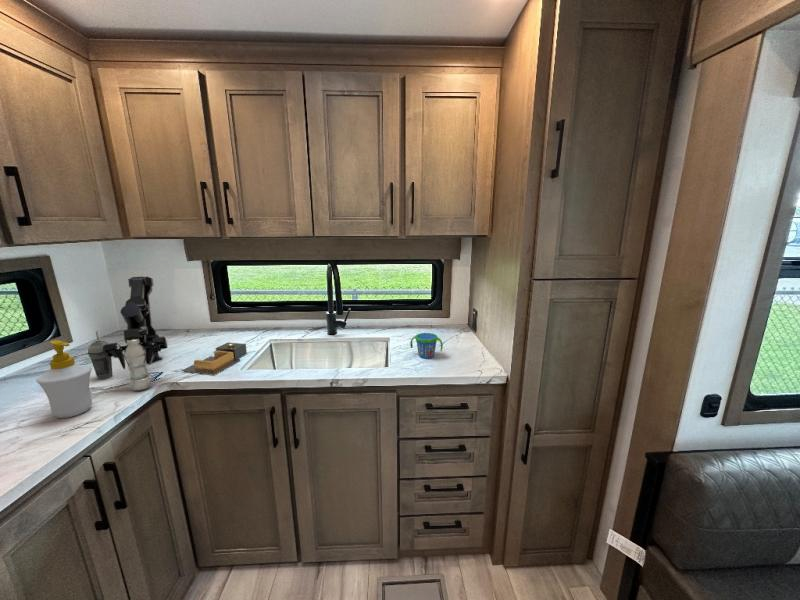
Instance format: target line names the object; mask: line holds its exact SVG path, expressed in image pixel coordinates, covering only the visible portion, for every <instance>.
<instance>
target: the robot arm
mask: <svg viewBox="0 0 800 600" xmlns="http://www.w3.org/2000/svg"><path fill="white" fill-rule="evenodd" d="M128 287H129V288H130V295H129V298H128V299H127V300H126V301H125V304H124V306H123V307H121V309H120V314H121V316H122V319H123V320H124V323H125V324H126V329H124V330H123V340H124V342H125V343H126V344H123V345H122V344H121V345H119V344H118V343H117V342H111V343H109V344H105V345H104V346H103V350H102V351H103V352H104V354H105V355H106V357H111V358H115V359H118V360H119V362H120V364H121V367H122V369H123V370H126V359H125V357H124V353H123V352H124V351H125V350H126V348H127V347H128V345H127V341H126V340H127V339H129V338H136V337H138V338H139V341H140V343H139V344H140V345H141V346H143V347H144V348H145V350H146V364H148V366H150V365H151V364H152V363H153V362H157V361H161V360H162V359H163V357H161V356H160V355H159V352H161V351H162V350H165V349H168V341H167V338H166V337H165V336H163V335H162V336H160V334H159V333H158V332H157V330H156V329H155V328H154V327H153V323H152V313H151V304H150V303H151V302H150V295H151V294H152V292H153V287H154V280H153V278H152V277H150V276H143V275H142V276H132V277H130V278H128Z"/></svg>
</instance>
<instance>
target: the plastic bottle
mask: <svg viewBox="0 0 800 600" xmlns="http://www.w3.org/2000/svg"><path fill="white" fill-rule="evenodd" d="M126 341H127V343H126V345H128V347H127V348H126V350H124V351H123V352H124V353H123V354H124V357H125V363H126V364H127V368H128V372H129V374H128V375H129V380H128V381H129V388H130V389H131V390H132V391H135V392H136V391H137V392H139V391H144V390H147V389H149V388H150V387H151V385H152V377H151V376H150V373H149V371H148V367H147V363H146V350H145V348H144V347H143V346H141V345H140V344H139V343H140V341H139V338H138V337H136V338H129V339H127V340H126Z"/></svg>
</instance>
